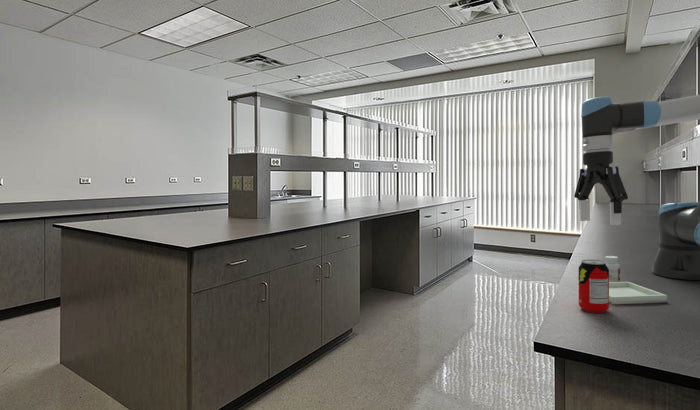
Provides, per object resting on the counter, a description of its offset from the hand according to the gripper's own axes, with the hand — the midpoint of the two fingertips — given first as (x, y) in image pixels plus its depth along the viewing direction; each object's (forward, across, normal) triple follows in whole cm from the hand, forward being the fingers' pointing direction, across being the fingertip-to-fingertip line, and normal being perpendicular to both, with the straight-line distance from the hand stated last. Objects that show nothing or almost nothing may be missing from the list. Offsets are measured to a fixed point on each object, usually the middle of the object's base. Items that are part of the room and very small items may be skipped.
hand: (599, 222), depth 119 cm
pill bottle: (+19, -2, +5) cm, 20 cm away
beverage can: (+18, +22, -17) cm, 33 cm away
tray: (+19, +11, -2) cm, 22 cm away
